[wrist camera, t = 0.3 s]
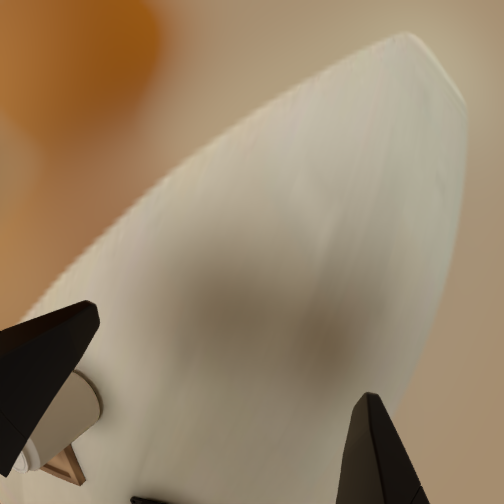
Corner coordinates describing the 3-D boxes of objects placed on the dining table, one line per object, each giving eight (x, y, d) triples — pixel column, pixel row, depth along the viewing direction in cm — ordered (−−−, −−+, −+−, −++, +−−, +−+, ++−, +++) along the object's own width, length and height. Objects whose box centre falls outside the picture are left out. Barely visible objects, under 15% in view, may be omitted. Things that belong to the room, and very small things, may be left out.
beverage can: (113, 422, 24) (44, 484, 12) (71, 422, 24) (4, 470, 12) (88, 364, 24) (1, 409, 12) (49, 370, 25) (-30, 405, 13)
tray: (85, 480, 24) (80, 486, 23) (30, 457, 25) (24, 461, 24) (58, 409, 24) (51, 414, 23) (5, 391, 25) (-2, 394, 24)
